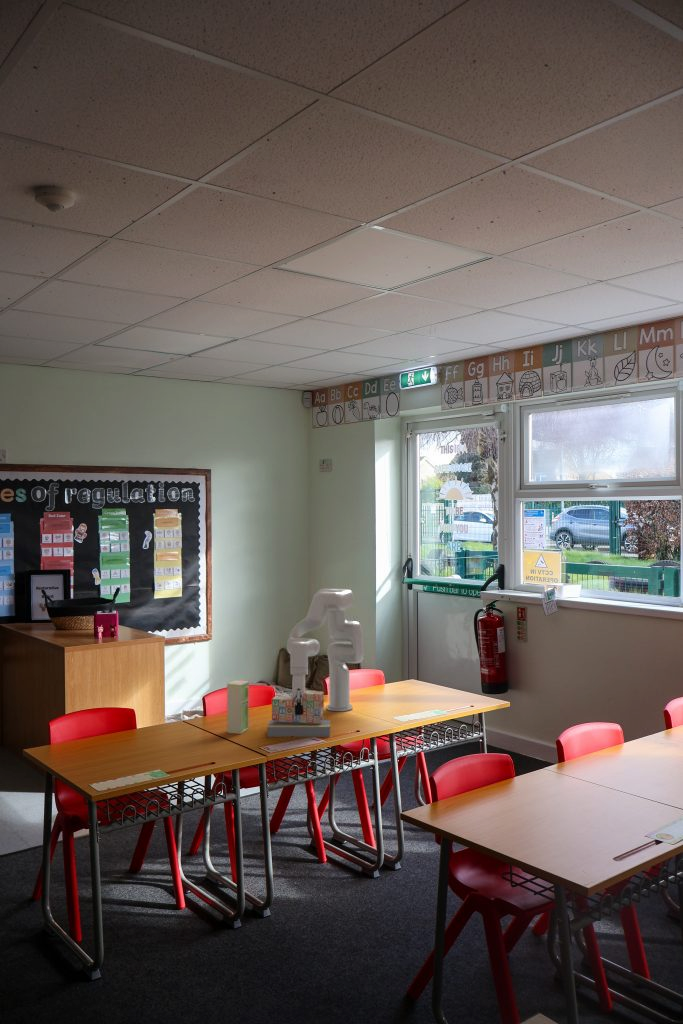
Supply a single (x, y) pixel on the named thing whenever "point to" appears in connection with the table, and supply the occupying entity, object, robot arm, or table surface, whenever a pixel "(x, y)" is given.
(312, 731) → the block
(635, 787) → the table surface
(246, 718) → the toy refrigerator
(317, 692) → the stack of blocks
